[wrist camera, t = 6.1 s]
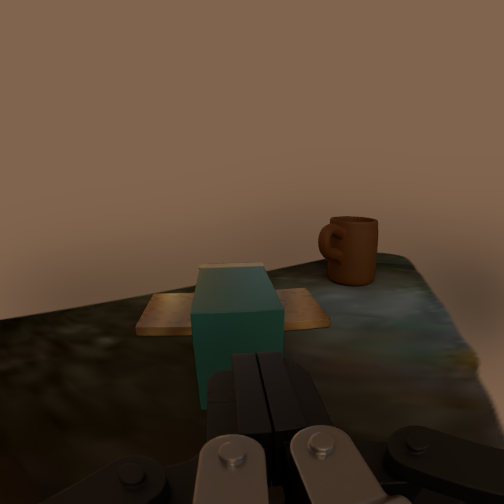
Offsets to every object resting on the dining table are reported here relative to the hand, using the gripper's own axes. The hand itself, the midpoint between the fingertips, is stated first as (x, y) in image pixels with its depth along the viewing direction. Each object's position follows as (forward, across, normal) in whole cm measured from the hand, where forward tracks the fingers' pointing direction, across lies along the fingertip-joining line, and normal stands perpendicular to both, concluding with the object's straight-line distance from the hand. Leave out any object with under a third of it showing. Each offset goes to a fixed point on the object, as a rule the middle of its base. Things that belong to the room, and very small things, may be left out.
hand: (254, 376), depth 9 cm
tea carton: (+14, 0, +5) cm, 15 cm away
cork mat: (+25, 0, +9) cm, 27 cm away
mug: (+34, -17, +9) cm, 39 cm away
